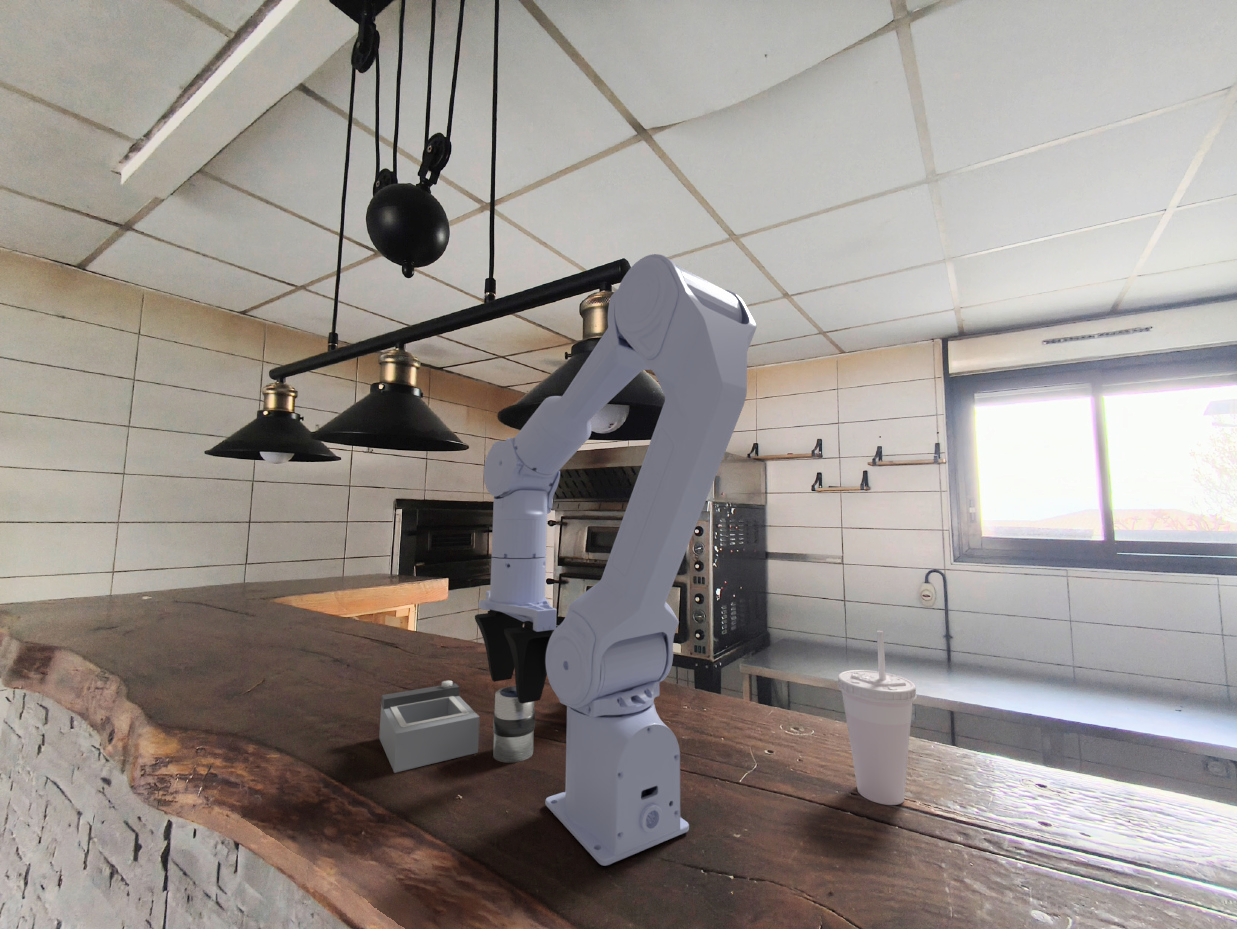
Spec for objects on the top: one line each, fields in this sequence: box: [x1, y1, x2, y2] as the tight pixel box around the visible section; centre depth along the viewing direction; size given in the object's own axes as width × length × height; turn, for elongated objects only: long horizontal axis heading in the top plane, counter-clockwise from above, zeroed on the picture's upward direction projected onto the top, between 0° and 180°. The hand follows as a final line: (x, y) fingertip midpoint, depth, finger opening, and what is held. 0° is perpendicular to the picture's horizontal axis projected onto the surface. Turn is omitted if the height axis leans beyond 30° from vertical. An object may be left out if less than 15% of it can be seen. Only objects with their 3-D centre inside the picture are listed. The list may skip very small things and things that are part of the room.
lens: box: [492, 685, 536, 764], centre depth 53 cm, size 4×4×6 cm
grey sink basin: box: [378, 680, 480, 774], centre depth 54 cm, size 9×8×5 cm
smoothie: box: [837, 630, 918, 806], centre depth 46 cm, size 6×6×14 cm
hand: (514, 689), depth 53 cm, fingers open, 7 cm apart
